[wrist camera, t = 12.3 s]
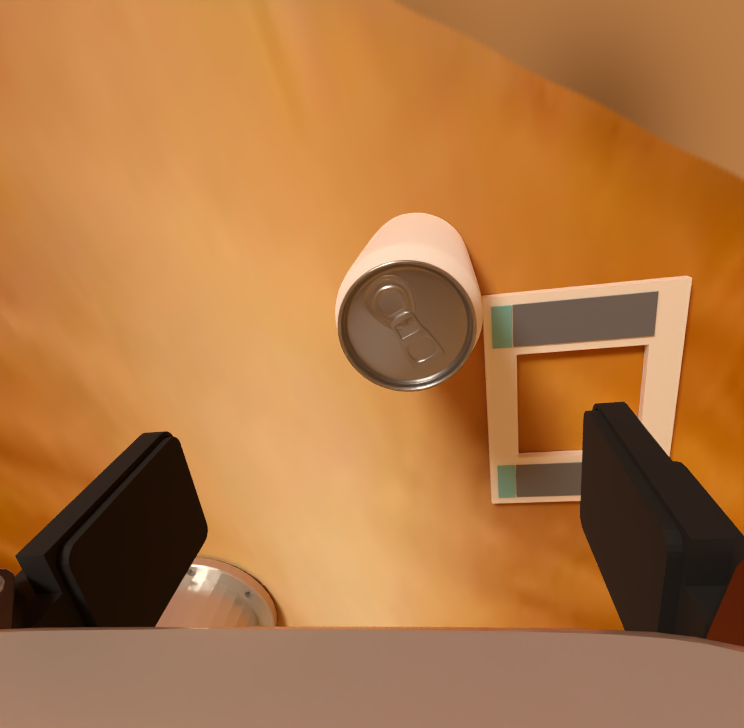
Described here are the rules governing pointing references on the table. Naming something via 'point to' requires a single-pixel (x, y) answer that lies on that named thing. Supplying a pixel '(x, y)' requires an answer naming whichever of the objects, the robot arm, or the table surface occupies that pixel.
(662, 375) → the label board
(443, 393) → the table surface
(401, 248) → the can
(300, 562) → the table surface
